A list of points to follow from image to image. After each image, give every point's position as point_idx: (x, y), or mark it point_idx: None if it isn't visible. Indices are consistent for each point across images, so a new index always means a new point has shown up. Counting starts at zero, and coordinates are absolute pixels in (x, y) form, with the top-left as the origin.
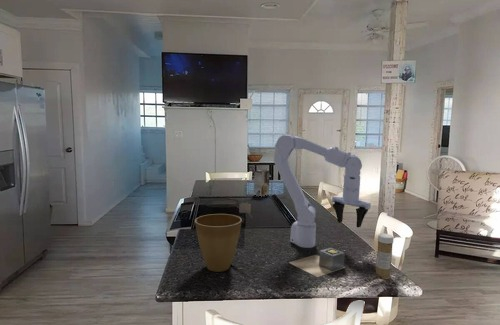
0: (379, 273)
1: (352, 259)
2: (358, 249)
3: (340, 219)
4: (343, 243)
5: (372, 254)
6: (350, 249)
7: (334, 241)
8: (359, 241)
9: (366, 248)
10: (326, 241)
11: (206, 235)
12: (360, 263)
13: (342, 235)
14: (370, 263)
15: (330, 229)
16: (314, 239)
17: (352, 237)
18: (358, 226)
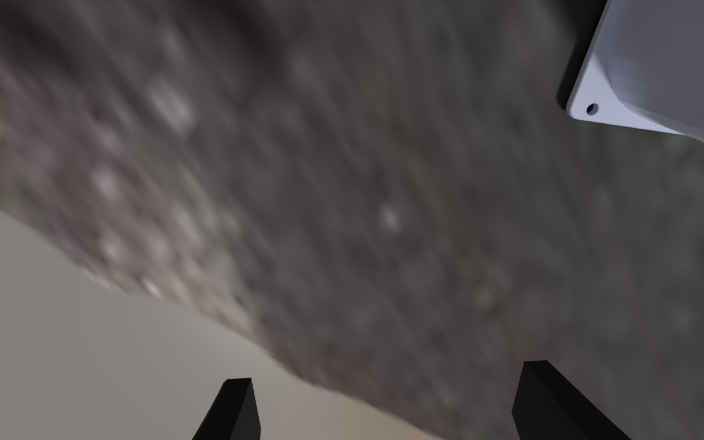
0: None
1: (238, 99)
2: (328, 299)
3: (539, 419)
4: (457, 315)
5: (214, 292)
6: (366, 261)
7: (522, 303)
8: (396, 402)
9: (303, 345)
10: (570, 265)
11: None
12: (142, 71)
13: None
14: (102, 137)
15: None
16: (664, 58)
17: (459, 422)
18: (219, 392)
